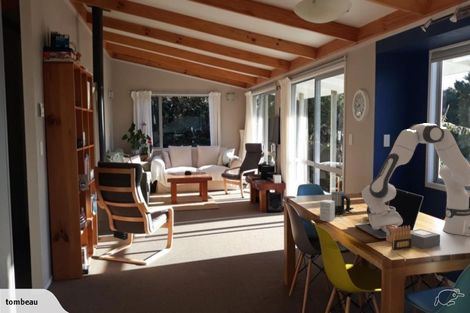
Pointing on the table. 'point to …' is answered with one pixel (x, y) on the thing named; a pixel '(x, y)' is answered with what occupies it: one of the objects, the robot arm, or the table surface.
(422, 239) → the base block
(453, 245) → the table surface
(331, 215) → the supplement box
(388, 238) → the block
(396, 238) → the ammunition clip
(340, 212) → the milk frother
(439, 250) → the table surface
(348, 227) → the table surface
